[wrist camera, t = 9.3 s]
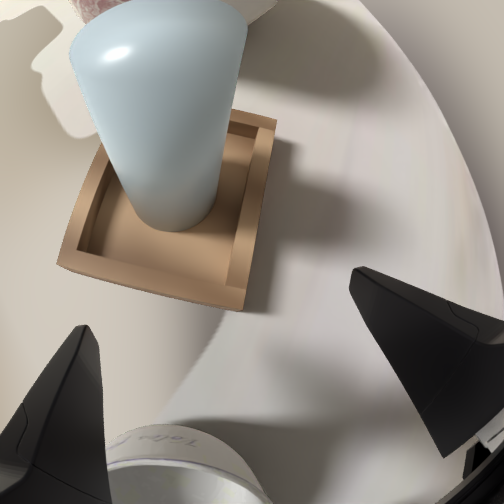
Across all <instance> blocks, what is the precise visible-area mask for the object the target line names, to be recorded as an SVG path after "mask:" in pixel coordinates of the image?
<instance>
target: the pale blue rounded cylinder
mask: <svg viewBox="0 0 504 504" xmlns="http://www.w3.org/2000/svg"><path fill="white" fill-rule="evenodd" d="M247 32H248V27H247V23H246V20H245V18H244V17H243V16H242V14H241V13H240V12H239V11H237V10H236V9H235V8H233V7H232V6H230V5H228V4H227V3H225V2H222V1H220V0H131V1H128V2H125V3H122V4H120V5H117V6H115V7H113V8H111V9H109V10H107V11H105V12H103V13H101V14H100V15H98V16H97V17H95V18H94V19H93V20H91V21H90V22H89V23H88V24H86V25H85V26H84V27H83V28H82V29H81V30H80V32H79V33H78V34H77V35H76V37H75V38H74V40H73V42H72V44H71V47H70V51H69V58H70V61H71V64H72V67H73V70H74V73H75V76H76V78H77V81H78V84H79V87H80V89H81V92H82V95H83V97H84V100H85V102H86V105H87V107H88V110H89V112H90V115H91V117H92V120H93V122H94V124H95V127H96V129H97V132H98V134H99V136H100V138H101V141H102V143H103V145H104V148H105V150H106V152H107V154H108V157H109V159H110V161H111V163H112V165H113V167H114V170H115V172H116V174H117V176H118V178H119V180H120V182H121V184H122V186H123V188H124V190H125V192H126V194H127V196H128V198H129V200H130V202H131V204H132V206H133V208H134V210H135V212H136V214H137V215H138V217H139V218H140V219H141V220H142V221H143V222H144V223H145V224H147V225H148V226H150V227H152V228H154V229H156V230H159V231H164V232H178V231H183V230H187V229H189V228H191V227H193V226H195V225H197V224H198V223H200V222H201V221H202V220H203V219H204V218H205V217H206V216H207V215H208V214H209V213H210V211H211V209H212V208H213V205H214V203H215V199H216V194H217V188H218V182H219V175H220V169H221V164H222V158H223V152H224V146H225V141H226V135H227V130H228V124H229V119H230V114H231V109H232V103H233V98H234V93H235V88H236V83H237V79H238V74H239V69H240V64H241V60H242V55H243V51H244V46H245V42H246V37H247Z"/></svg>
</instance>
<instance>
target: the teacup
mask: <svg viewBox="0 0 504 504" xmlns="http://www.w3.org/2000/svg"><path fill="white" fill-rule="evenodd" d="M105 450H106V461H107V470H108V478H109V485H110V492H111V498H112V504H273V502H272V501H271V500H270V499H269V497H268V496H267V495H266V494H265V493H264V491H263V489H262V487H261V486H260V484H259V482H258V480H257V479H256V477H255V475H254V474H253V472H252V471H251V469H250V468H249V466H248V465H247V463H246V462H245V461H244V460H243V458H242V457H241V456H240V455H239V454H238V453H237V452H236V451H235V450H233V449H232V448H231V447H230V446H228V445H227V444H226V443H224V442H223V441H221V440H219V439H218V438H216V437H214V436H212V435H210V434H207V433H205V432H202V431H199V430H196V429H193V428H190V427H184V426H179V425H167V424H165V425H149V426H143V427H139V428H136V429H133V430H130V431H127V432H125V433H124V434H121V435H119V436H118V437H117V438H115V439H114V440H113V441H111V442H110V443H109V444H108V445H107V446H106V447H105Z"/></svg>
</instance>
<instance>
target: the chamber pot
mask: <svg viewBox="0 0 504 504" xmlns="http://www.w3.org/2000/svg"><path fill="white" fill-rule="evenodd" d="M68 1H69V2H70V4H71V6H72V8H73V10H74V12H75V13H76V15H77V16H78V17H79V18H80V19H81V20H82V21H83V22H84V23H85V24H88V23H89V22H90V21H91V20H93V19H94V18H95V17H97V16H98V15H100V14H101V13H103V12H105V11H107V10H109V9H111V8H113V7H115V6H117V5H120V4H122V3H125V2H128V1H131V0H68ZM220 1H222V2H225V3H227V4H228V5H230V6H232V7H233V8H235V9H236V10H237V11H239V12H240V13H241V14H242V16H243V17H244V18H245V20H246V23H247V26H249V25H250V24H251V23H253V22H254V21H255V20H257V19H258V18H259V17H260V16H262V15H263V14H265V13H266V12H267V11H269V10H270V9H271V8H273V7H274V6H275V5H276V3H277V2H278V0H220Z"/></svg>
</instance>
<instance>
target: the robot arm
mask: <svg viewBox="0 0 504 504" xmlns="http://www.w3.org/2000/svg"><path fill="white" fill-rule="evenodd" d="M349 291H350V294H351V296H352V298H353V300H354V302H355V304H356V306H357V308H358V310H359V312H360V314H361V316H362V318H363V320H364V322H365V324H366V325H367V327H368V329H369V331H370V332H371V334H372V335H373V337H374V338H375V340H376V342H377V343H378V345H379V347H380V348H381V350H382V351H383V353H384V355H385V356H386V358H387V360H388V361H389V363H390V364H391V366H392V368H393V369H394V371H395V373H396V374H397V376H398V378H399V380H400V381H401V383H402V385H403V386H404V388H405V390H406V392H407V393H408V395H409V397H410V398H411V400H412V402H413V404H414V405H415V407H416V409H417V411H418V413H419V414H420V416H421V418H422V420H423V422H424V424H425V426H426V427H427V429H428V431H429V433H430V435H431V437H432V439H433V440H434V442H435V444H436V446H437V448H438V450H439V452H440V454H441V456H442V457H443V458H445V457H447V456H448V455H449V454H451V453H452V452H453V451H455V450H456V449H457V448H459V447H460V446H461V445H463V444H464V443H465V442H466V441H468V440H469V439H470V438H471V437H473V436H474V435H476V437H477V438H478V441H477V442H476V443H475V444H474V445H473V446H472V447H471V448H469V449H468V450H467V453H466V460H465V466H464V472H463V477H462V478H463V479H464V480H463V481H462V482H461V483H460V484H459V485H458V486H456V487H455V488H454V489H453V490H452V491H450V492H449V493H448V494H447V495H446V496H444V497H443V498H442V499H440V500H439V501H438V502H437V503H435V504H504V321H502V320H499V319H496V318H494V317H491V316H488V315H485V314H482V313H479V312H476V311H474V310H471V309H468V308H465V307H463V306H461V305H458V304H456V303H453V302H451V301H449V300H446V299H444V298H441V297H439V296H436V295H434V294H432V293H429V292H427V291H424V290H422V289H420V288H417V287H415V286H412V285H410V284H407V283H405V282H402V281H400V280H397V279H395V278H392V277H390V276H388V275H385V274H382V273H380V272H377V271H375V270H372V269H370V268H367V267H365V266H361V267H357V268H354V269H353V271H352V274H351V279H350V285H349ZM0 504H112V498H111V492H110V485H109V478H108V470H107V461H106V450H105V438H104V418H103V387H102V377H101V366H100V354H99V345H98V342H97V340H96V338H95V337H94V335H93V333H92V331H91V329H90V327H89V326H88V325H80V326H76V327H75V328H74V329H73V331H72V332H71V333H70V335H69V336H68V337H67V339H66V340H65V341H64V342H63V344H62V345H61V346H60V348H59V349H58V351H57V352H56V353H55V355H54V356H53V357H52V359H51V360H50V361H49V363H48V364H47V366H46V367H45V368H44V370H43V371H42V373H41V374H40V376H39V377H38V379H37V380H36V381H35V383H34V385H33V386H32V387H31V389H30V390H29V392H28V393H27V395H26V396H25V398H24V400H23V403H21V404H20V406H19V407H18V409H17V410H16V412H15V414H14V415H13V417H12V418H11V420H10V421H9V423H8V424H7V426H6V427H5V429H4V430H3V431H2V433H1V434H0Z"/></svg>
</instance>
